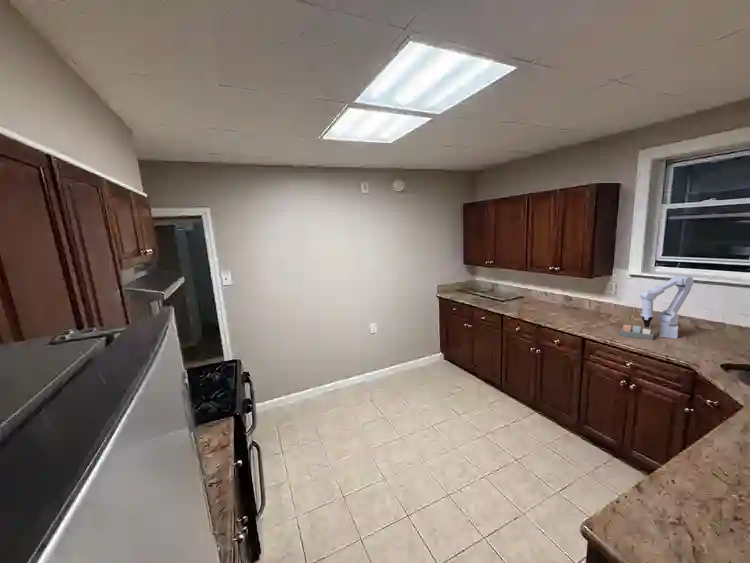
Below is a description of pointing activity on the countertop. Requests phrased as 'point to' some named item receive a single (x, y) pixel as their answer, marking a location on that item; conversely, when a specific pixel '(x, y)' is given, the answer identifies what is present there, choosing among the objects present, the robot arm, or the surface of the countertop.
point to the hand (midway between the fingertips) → (646, 327)
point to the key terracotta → (627, 328)
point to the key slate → (637, 329)
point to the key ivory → (646, 331)
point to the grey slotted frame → (637, 334)
